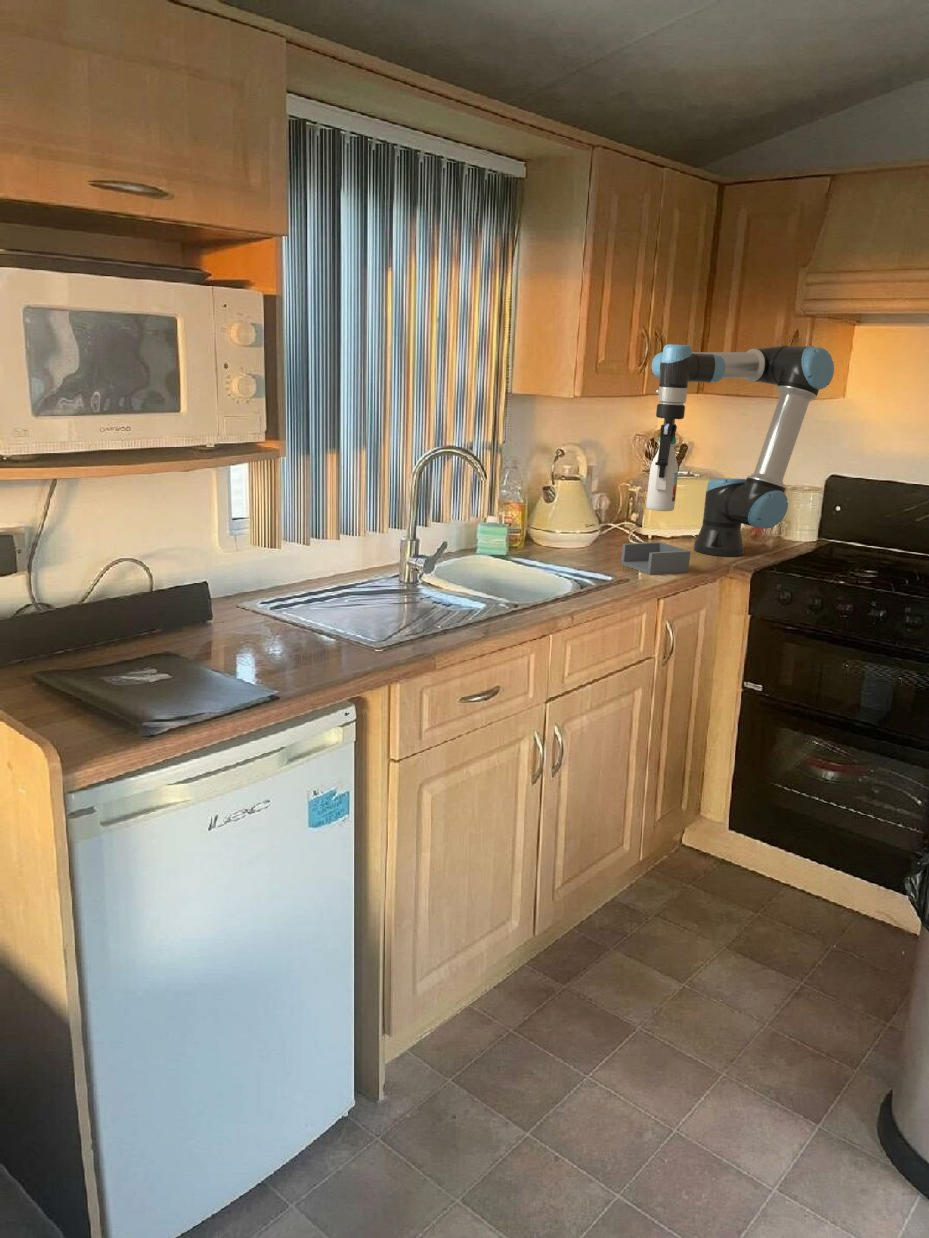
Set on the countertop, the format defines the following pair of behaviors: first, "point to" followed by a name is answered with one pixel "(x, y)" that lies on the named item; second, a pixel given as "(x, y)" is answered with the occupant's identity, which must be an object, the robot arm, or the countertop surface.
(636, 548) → the tray
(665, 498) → the milk bottle
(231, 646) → the countertop surface
